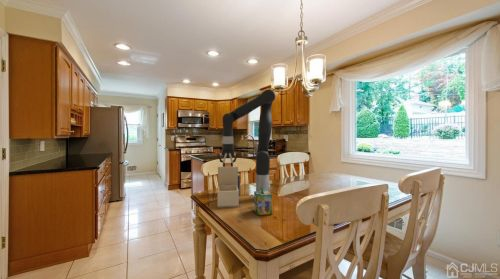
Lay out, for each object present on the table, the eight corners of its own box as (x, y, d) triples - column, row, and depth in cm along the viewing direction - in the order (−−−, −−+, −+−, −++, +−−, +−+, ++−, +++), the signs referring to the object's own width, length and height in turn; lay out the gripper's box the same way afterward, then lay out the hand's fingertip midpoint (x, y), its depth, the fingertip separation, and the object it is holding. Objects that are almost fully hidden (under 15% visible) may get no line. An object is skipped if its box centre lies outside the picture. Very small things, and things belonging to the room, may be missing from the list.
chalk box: (272, 214, 121) (272, 188, 121) (256, 215, 120) (256, 189, 119) (268, 208, 130) (268, 184, 130) (253, 209, 129) (253, 185, 128)
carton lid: (237, 184, 147) (237, 179, 153) (238, 167, 141) (237, 161, 146) (218, 185, 146) (218, 179, 151) (217, 167, 139) (218, 162, 145)
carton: (237, 199, 148) (237, 184, 148) (238, 206, 134) (238, 191, 133) (218, 199, 147) (218, 185, 147) (217, 207, 132) (217, 191, 132)
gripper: (238, 143, 151) (238, 167, 151) (217, 143, 149) (217, 167, 149) (238, 143, 143) (238, 169, 144) (217, 143, 142) (217, 169, 142)
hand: (227, 168), depth 146 cm, fingers closed on carton lid, 4 cm apart
